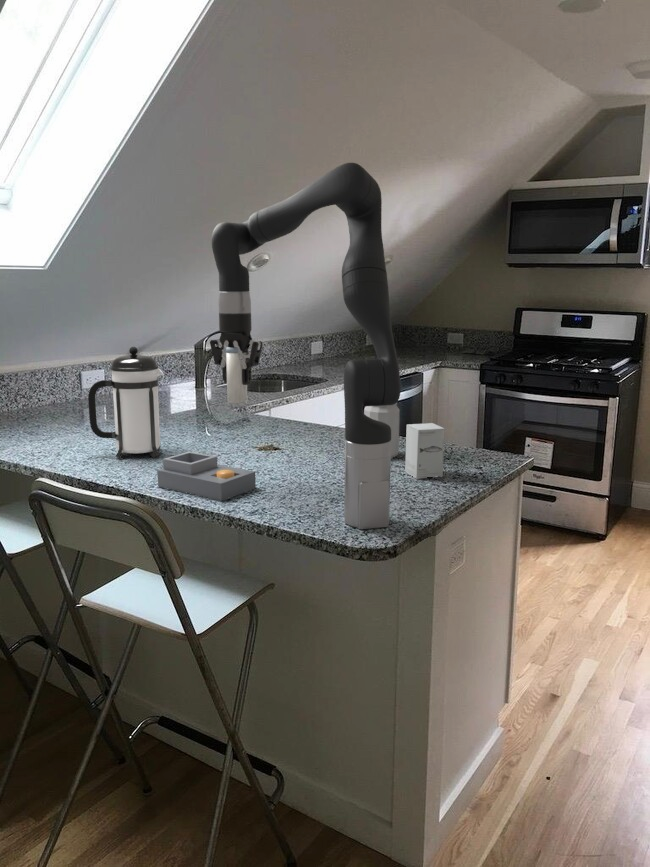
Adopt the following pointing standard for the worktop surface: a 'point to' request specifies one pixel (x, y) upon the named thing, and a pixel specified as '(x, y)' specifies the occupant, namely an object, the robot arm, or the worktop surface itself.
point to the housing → (203, 476)
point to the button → (225, 474)
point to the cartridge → (235, 377)
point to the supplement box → (424, 450)
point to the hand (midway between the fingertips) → (236, 383)
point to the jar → (387, 422)
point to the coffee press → (132, 404)
